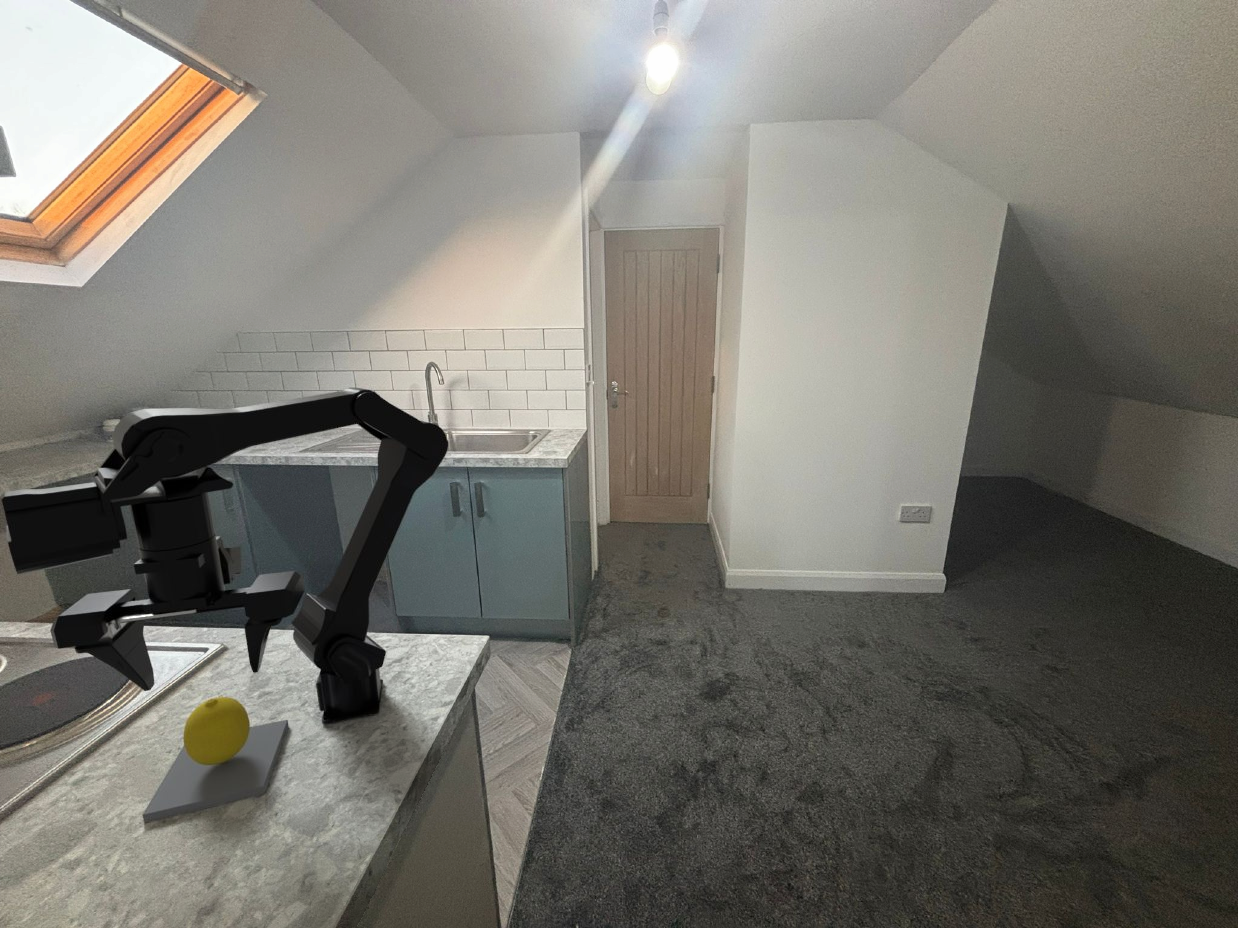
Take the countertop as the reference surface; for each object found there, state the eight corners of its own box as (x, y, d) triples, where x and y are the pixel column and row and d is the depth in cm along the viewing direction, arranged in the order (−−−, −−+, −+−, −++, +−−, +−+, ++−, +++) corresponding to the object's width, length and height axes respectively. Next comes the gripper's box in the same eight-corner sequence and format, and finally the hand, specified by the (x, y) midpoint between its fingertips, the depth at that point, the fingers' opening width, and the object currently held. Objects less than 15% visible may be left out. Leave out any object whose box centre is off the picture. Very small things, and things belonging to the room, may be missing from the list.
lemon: (221, 787, 52) (207, 723, 50) (178, 777, 53) (162, 714, 51) (267, 745, 57) (255, 686, 55) (226, 737, 58) (213, 678, 56)
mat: (288, 726, 62) (287, 719, 62) (264, 793, 53) (262, 786, 52) (188, 746, 58) (187, 739, 58) (144, 822, 49) (142, 814, 49)
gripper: (306, 506, 60) (321, 624, 63) (103, 521, 53) (133, 651, 57) (281, 540, 49) (300, 679, 53) (27, 564, 43) (69, 719, 47)
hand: (205, 678), depth 53 cm, fingers open, 9 cm apart
